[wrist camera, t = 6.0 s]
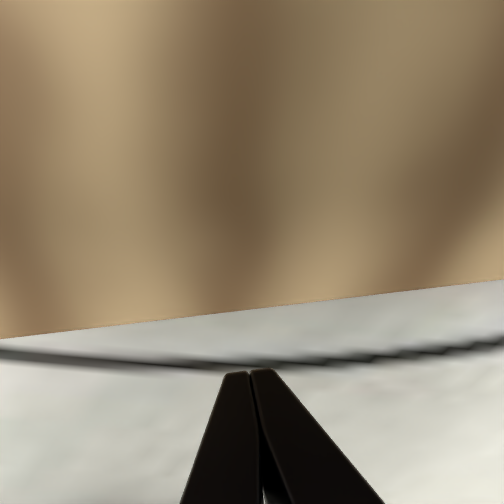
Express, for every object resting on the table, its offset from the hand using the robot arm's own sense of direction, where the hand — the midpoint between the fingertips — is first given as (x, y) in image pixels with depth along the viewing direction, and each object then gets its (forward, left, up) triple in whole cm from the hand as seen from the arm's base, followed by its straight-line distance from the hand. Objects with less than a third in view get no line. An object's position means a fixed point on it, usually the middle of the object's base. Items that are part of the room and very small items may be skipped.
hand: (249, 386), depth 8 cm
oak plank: (0, +1, -9) cm, 9 cm away
